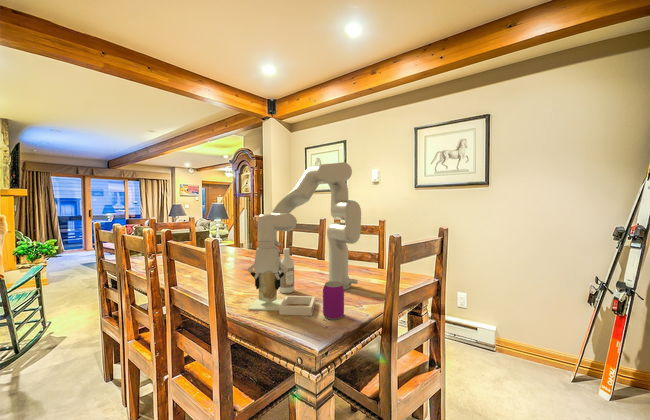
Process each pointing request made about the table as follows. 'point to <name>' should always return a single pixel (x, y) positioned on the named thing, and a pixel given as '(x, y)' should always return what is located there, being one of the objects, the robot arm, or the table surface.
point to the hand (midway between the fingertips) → (267, 288)
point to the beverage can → (333, 300)
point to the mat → (266, 305)
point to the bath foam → (287, 273)
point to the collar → (297, 309)
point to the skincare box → (267, 287)
